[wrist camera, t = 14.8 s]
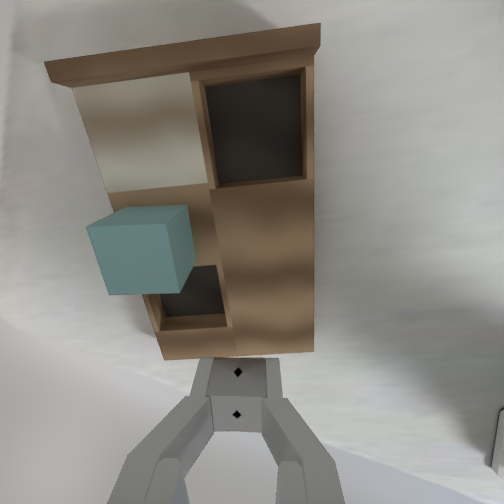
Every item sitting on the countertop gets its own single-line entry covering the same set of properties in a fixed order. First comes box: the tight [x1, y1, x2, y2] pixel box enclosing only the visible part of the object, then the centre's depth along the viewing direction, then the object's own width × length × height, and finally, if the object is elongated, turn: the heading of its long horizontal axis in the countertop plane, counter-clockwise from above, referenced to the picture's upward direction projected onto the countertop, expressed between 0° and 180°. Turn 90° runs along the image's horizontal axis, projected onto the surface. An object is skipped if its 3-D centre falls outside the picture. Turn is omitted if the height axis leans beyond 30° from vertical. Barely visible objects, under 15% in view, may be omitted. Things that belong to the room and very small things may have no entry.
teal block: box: [86, 204, 196, 295], centre depth 18 cm, size 5×5×5 cm
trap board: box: [44, 23, 321, 360], centre depth 21 cm, size 26×16×4 cm, turn 6°
